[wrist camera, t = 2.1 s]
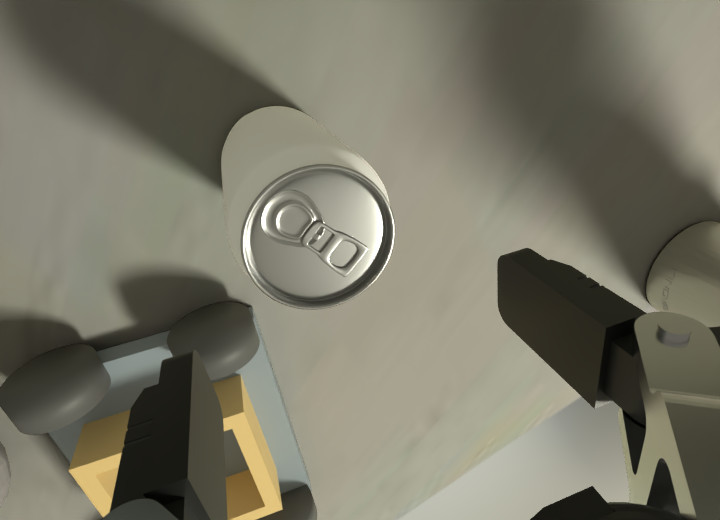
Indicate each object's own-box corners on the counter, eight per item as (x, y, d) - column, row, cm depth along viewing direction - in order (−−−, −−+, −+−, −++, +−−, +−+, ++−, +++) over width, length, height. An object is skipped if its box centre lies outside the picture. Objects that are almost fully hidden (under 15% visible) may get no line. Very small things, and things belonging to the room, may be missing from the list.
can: (264, 78, 24) (304, 109, 14) (352, 150, 27) (439, 219, 17) (197, 174, 25) (188, 268, 15) (290, 232, 28) (335, 344, 18)
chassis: (247, 294, 29) (254, 338, 25) (310, 482, 39) (323, 537, 35) (16, 359, 27) (-21, 421, 22) (145, 544, 36) (136, 612, 32)
